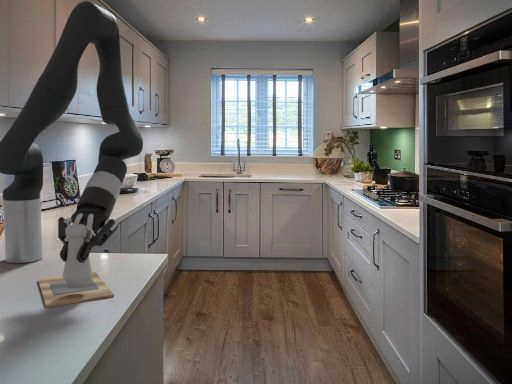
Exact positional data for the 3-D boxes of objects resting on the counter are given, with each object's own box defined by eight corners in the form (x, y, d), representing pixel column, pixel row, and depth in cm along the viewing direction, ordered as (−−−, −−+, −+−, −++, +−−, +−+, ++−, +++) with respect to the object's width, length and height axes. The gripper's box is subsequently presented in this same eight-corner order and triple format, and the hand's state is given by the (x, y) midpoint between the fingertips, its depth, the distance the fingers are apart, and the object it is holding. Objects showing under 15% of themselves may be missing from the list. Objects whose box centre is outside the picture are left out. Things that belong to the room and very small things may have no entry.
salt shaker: (82, 290, 89) (80, 227, 88) (57, 288, 91) (55, 226, 89) (98, 281, 95) (96, 223, 94) (74, 280, 96) (72, 222, 95)
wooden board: (38, 281, 103) (38, 278, 103) (95, 273, 110) (95, 271, 110) (46, 307, 86) (46, 304, 86) (113, 296, 93) (113, 293, 93)
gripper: (65, 184, 99) (31, 249, 88) (123, 185, 97) (96, 252, 86) (79, 204, 105) (49, 267, 94) (134, 206, 103) (110, 271, 92)
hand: (71, 260), depth 90 cm, fingers closed on salt shaker, 3 cm apart
